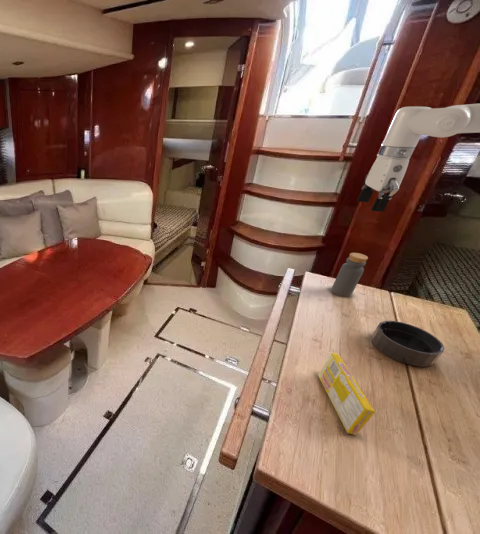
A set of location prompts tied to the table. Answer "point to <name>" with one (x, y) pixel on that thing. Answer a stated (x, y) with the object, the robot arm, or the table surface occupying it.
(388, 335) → the pan
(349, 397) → the candy box
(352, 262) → the bottle
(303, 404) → the table surface
